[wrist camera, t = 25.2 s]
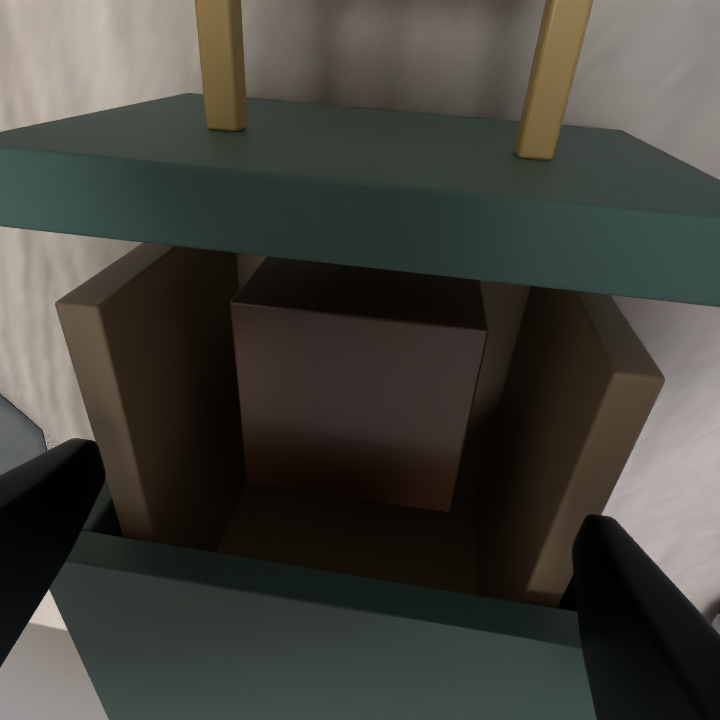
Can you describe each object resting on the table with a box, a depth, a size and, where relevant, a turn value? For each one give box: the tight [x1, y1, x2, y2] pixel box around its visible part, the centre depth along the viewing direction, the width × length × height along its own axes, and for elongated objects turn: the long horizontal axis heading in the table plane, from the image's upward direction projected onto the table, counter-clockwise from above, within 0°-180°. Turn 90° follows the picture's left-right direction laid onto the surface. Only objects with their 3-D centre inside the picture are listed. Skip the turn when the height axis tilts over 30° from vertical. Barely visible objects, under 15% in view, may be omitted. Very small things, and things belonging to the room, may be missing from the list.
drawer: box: [0, 0, 720, 608], centre depth 12 cm, size 18×11×8 cm, turn 176°
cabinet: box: [49, 479, 597, 720], centre depth 18 cm, size 15×13×10 cm
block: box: [230, 256, 489, 512], centre depth 13 cm, size 5×5×5 cm
